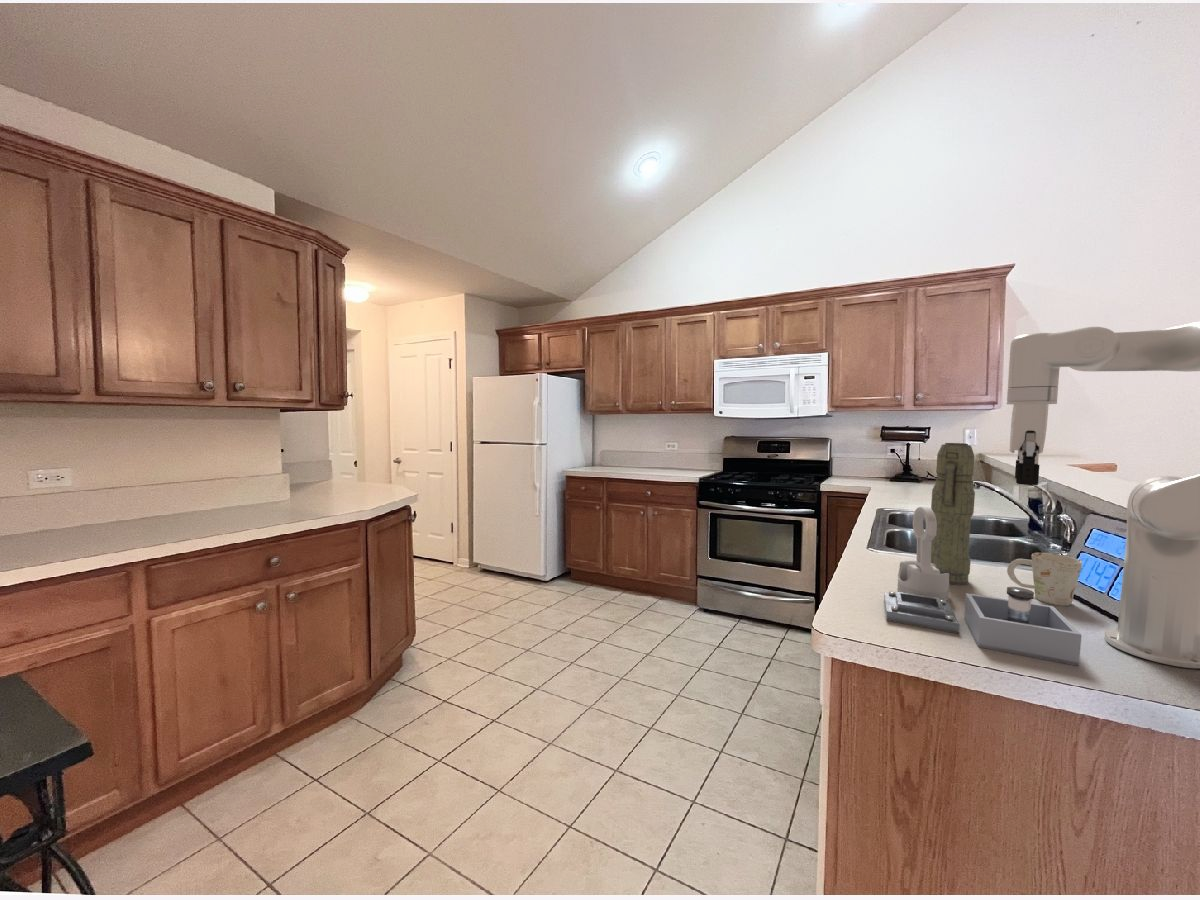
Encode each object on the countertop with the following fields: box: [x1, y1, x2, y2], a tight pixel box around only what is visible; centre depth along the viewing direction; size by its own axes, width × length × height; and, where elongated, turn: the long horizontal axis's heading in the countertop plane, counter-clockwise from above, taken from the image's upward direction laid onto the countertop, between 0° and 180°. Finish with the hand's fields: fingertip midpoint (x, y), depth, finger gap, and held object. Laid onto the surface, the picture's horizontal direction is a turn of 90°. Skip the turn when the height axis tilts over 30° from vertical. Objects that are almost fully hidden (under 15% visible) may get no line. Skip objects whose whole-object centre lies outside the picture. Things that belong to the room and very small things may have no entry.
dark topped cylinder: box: [1002, 586, 1035, 625], centre depth 90 cm, size 5×5×9 cm
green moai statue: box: [930, 442, 976, 586], centre depth 123 cm, size 9×12×35 cm
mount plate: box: [883, 590, 960, 634], centre depth 101 cm, size 12×12×3 cm
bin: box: [963, 592, 1082, 667], centre depth 90 cm, size 14×14×6 cm
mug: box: [1006, 552, 1083, 607], centre depth 111 cm, size 8×13×10 cm, turn 41°
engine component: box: [896, 506, 950, 602], centre depth 113 cm, size 11×20×10 cm
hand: (1025, 481), depth 97 cm, fingers open, 9 cm apart
